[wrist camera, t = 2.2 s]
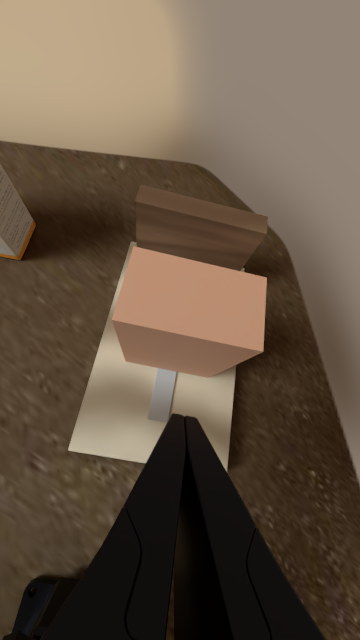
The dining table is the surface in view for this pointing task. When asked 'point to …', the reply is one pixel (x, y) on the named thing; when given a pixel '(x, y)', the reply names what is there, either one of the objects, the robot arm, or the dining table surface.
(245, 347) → the tan rectangular block
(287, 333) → the dining table surface
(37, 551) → the dining table surface
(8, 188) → the supplement box
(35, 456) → the dining table surface
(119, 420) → the track
